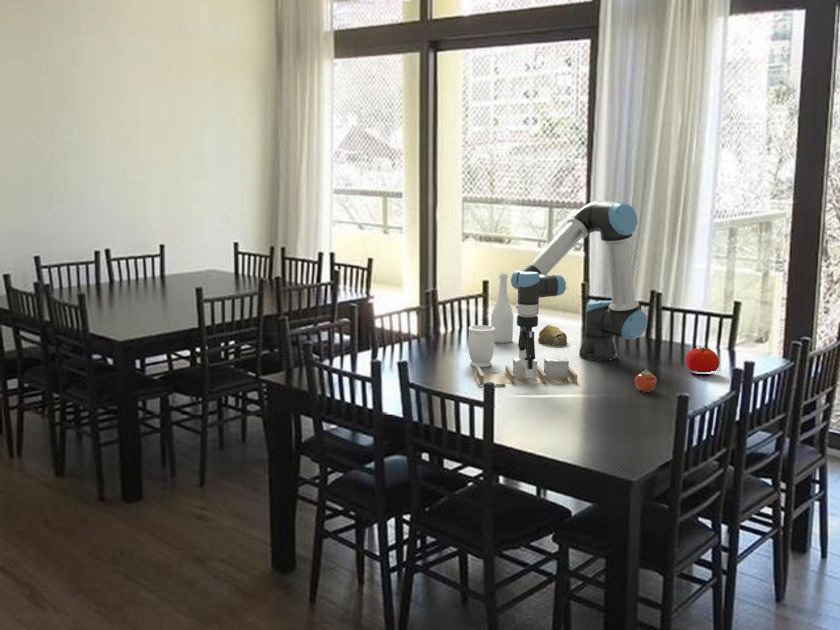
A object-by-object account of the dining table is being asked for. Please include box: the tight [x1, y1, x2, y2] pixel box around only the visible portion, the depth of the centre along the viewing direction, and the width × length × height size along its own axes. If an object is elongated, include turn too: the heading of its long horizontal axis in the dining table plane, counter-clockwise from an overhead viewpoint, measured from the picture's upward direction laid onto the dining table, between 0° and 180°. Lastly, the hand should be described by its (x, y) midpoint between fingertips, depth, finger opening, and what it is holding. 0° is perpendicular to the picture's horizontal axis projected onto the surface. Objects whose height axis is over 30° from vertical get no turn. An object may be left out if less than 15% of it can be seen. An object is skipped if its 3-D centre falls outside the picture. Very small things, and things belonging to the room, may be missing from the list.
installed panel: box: [543, 357, 570, 380], centre depth 318 cm, size 8×4×7 cm, turn 94°
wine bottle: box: [490, 272, 514, 344], centre depth 381 cm, size 10×10×30 cm
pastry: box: [537, 324, 568, 347], centre depth 381 cm, size 14×12×8 cm
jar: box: [467, 324, 496, 368], centre depth 340 cm, size 11×10×15 cm
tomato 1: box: [634, 368, 658, 392], centre depth 307 cm, size 7×7×8 cm
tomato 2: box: [685, 345, 720, 372], centre depth 331 cm, size 11×13×10 cm
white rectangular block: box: [512, 357, 538, 380], centre depth 317 cm, size 8×4×7 cm, turn 94°
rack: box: [473, 365, 579, 388], centre depth 317 cm, size 36×15×4 cm, turn 94°
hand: (525, 372), depth 318 cm, fingers open, 13 cm apart
